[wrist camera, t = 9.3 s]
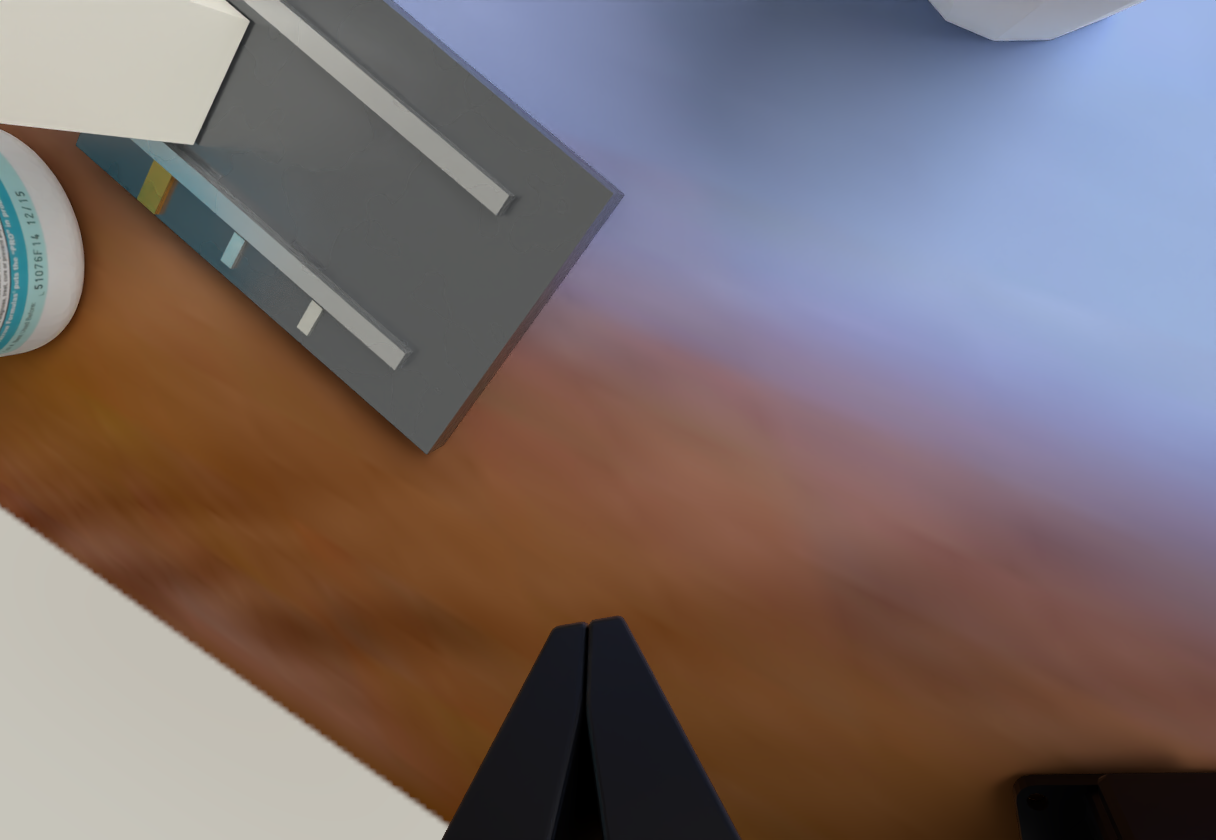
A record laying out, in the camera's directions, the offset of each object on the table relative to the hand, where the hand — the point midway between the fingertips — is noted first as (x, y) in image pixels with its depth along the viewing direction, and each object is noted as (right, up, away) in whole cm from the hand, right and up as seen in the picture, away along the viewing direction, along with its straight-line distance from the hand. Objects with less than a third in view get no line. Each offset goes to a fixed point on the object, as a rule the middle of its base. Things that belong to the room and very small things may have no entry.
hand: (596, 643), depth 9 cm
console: (-7, +10, +12) cm, 17 cm away
